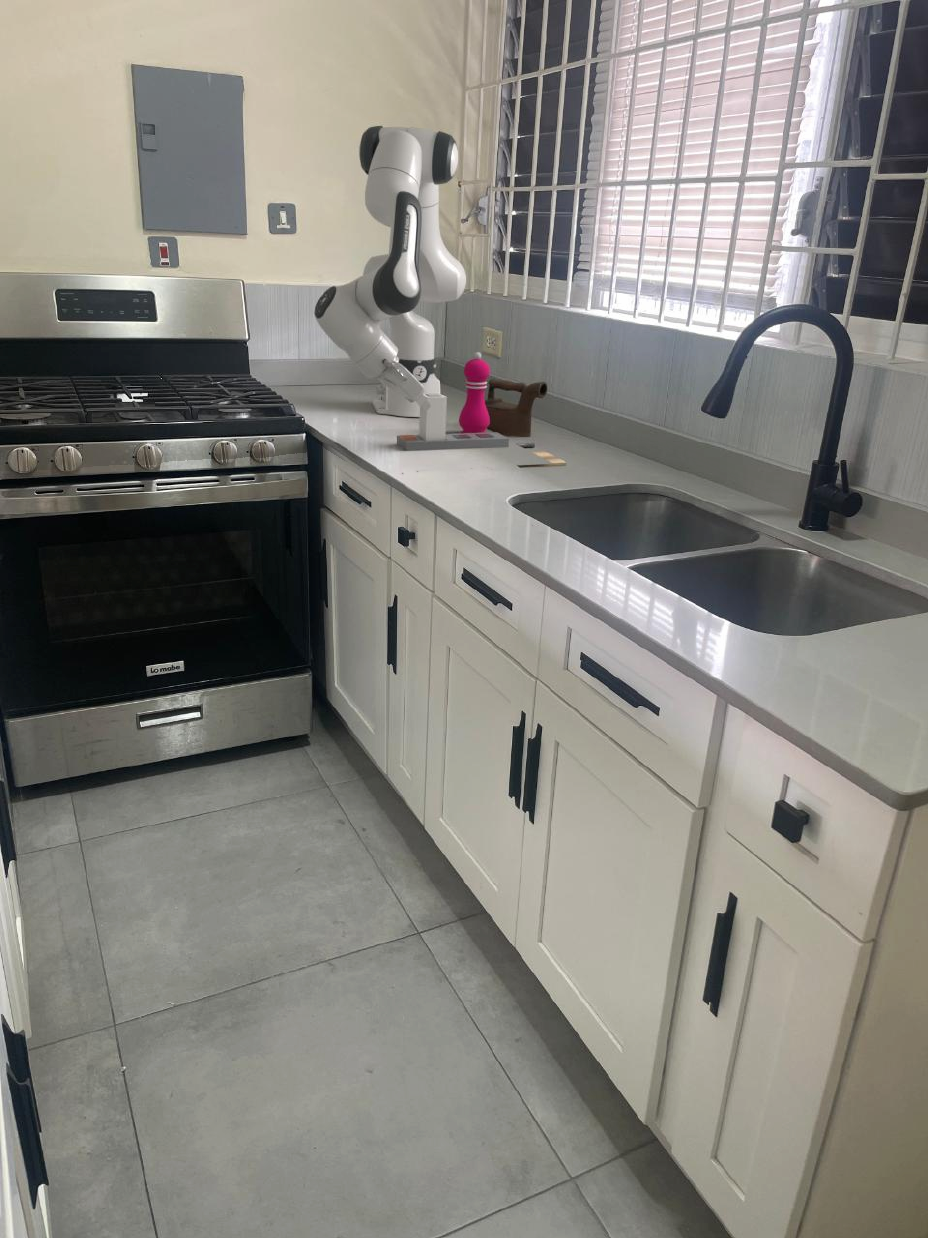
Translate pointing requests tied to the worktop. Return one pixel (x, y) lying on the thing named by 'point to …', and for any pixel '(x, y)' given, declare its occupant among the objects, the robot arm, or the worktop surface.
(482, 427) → the pepper mill
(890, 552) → the worktop surface
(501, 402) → the clothes iron
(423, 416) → the block
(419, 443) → the power strip
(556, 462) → the tan flat angled piece
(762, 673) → the worktop surface
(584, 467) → the worktop surface
